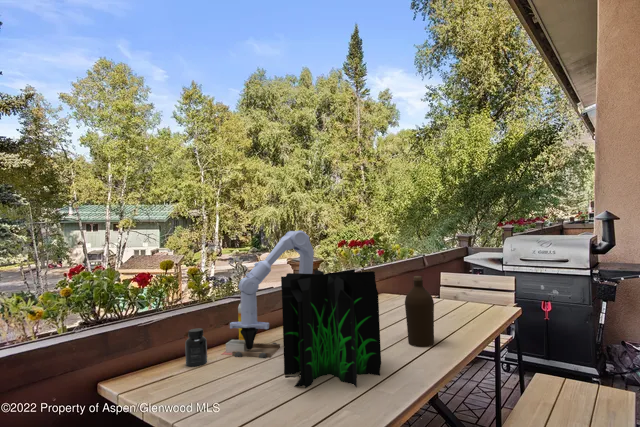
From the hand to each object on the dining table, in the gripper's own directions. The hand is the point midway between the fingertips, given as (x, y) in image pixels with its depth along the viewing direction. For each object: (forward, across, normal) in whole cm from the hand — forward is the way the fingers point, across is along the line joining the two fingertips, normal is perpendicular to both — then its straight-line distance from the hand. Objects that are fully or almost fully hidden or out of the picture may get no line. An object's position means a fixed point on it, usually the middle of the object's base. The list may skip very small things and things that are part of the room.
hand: (250, 348), depth 135 cm
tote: (+1, -5, 0) cm, 5 cm away
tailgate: (+2, -4, 0) cm, 4 cm away
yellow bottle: (+2, -8, +16) cm, 18 cm away
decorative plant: (+2, +33, -12) cm, 35 cm away
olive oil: (+2, +61, +19) cm, 64 cm away
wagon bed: (+2, +3, 0) cm, 3 cm away
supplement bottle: (+2, -13, -13) cm, 19 cm away
